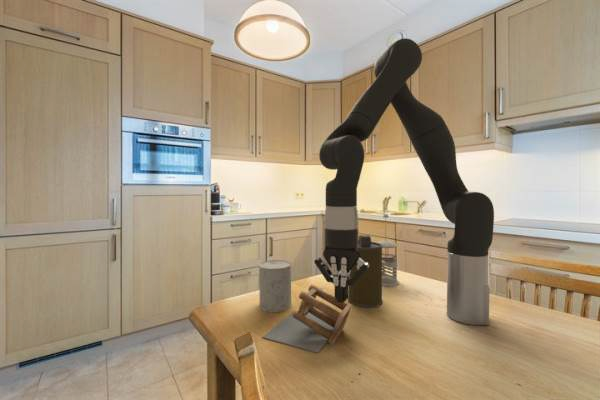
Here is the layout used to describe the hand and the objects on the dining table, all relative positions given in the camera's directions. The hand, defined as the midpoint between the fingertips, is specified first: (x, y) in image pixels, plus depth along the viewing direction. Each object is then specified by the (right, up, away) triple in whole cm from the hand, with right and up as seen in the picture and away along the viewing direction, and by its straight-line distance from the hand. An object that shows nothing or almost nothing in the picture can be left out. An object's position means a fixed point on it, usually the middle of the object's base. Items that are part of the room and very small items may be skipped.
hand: (341, 301), depth 64 cm
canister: (+11, -8, +22) cm, 26 cm away
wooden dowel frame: (0, -5, 0) cm, 5 cm away
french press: (+21, -7, +39) cm, 45 cm away
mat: (-8, -9, +5) cm, 13 cm away
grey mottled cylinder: (-17, -8, +19) cm, 27 cm away
